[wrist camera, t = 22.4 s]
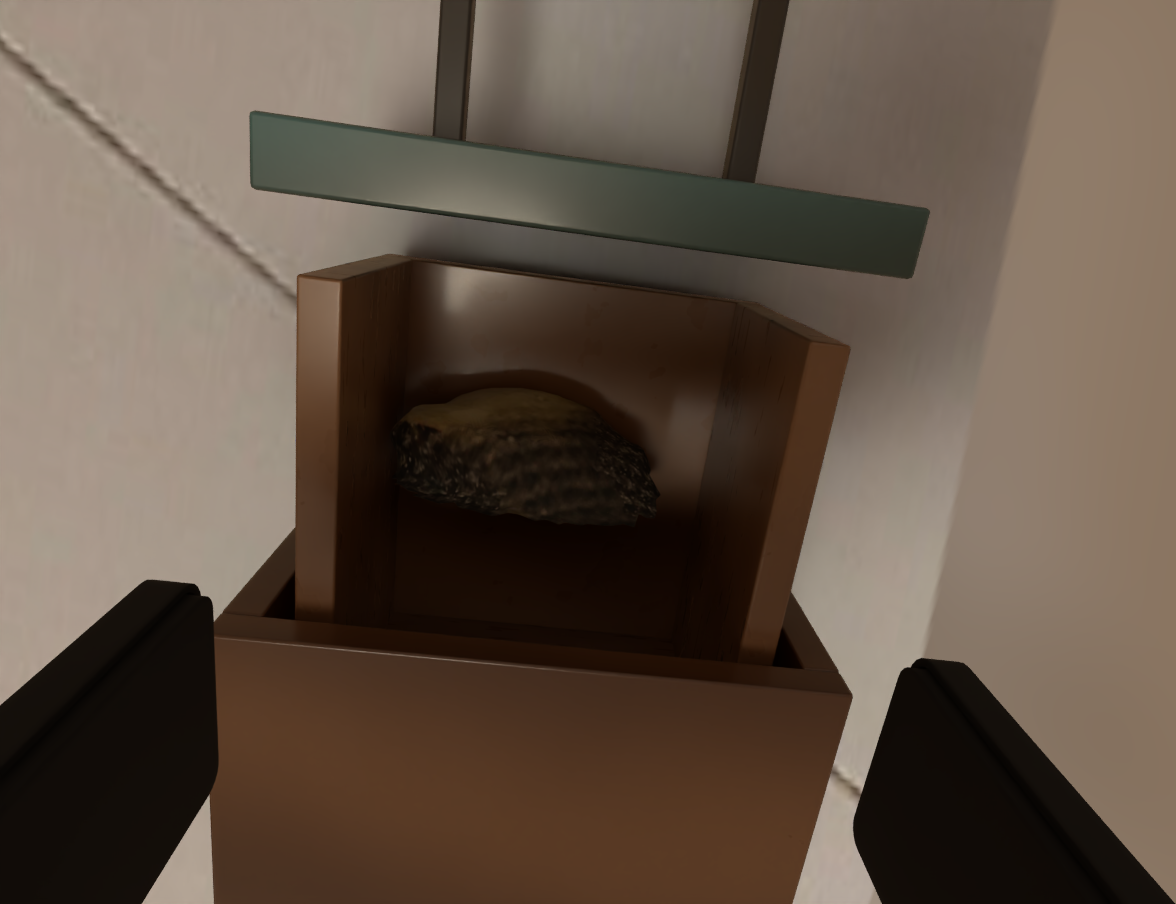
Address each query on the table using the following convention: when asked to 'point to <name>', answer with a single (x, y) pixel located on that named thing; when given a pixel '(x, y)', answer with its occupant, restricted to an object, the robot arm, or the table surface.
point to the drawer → (567, 379)
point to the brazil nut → (524, 459)
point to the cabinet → (508, 765)
